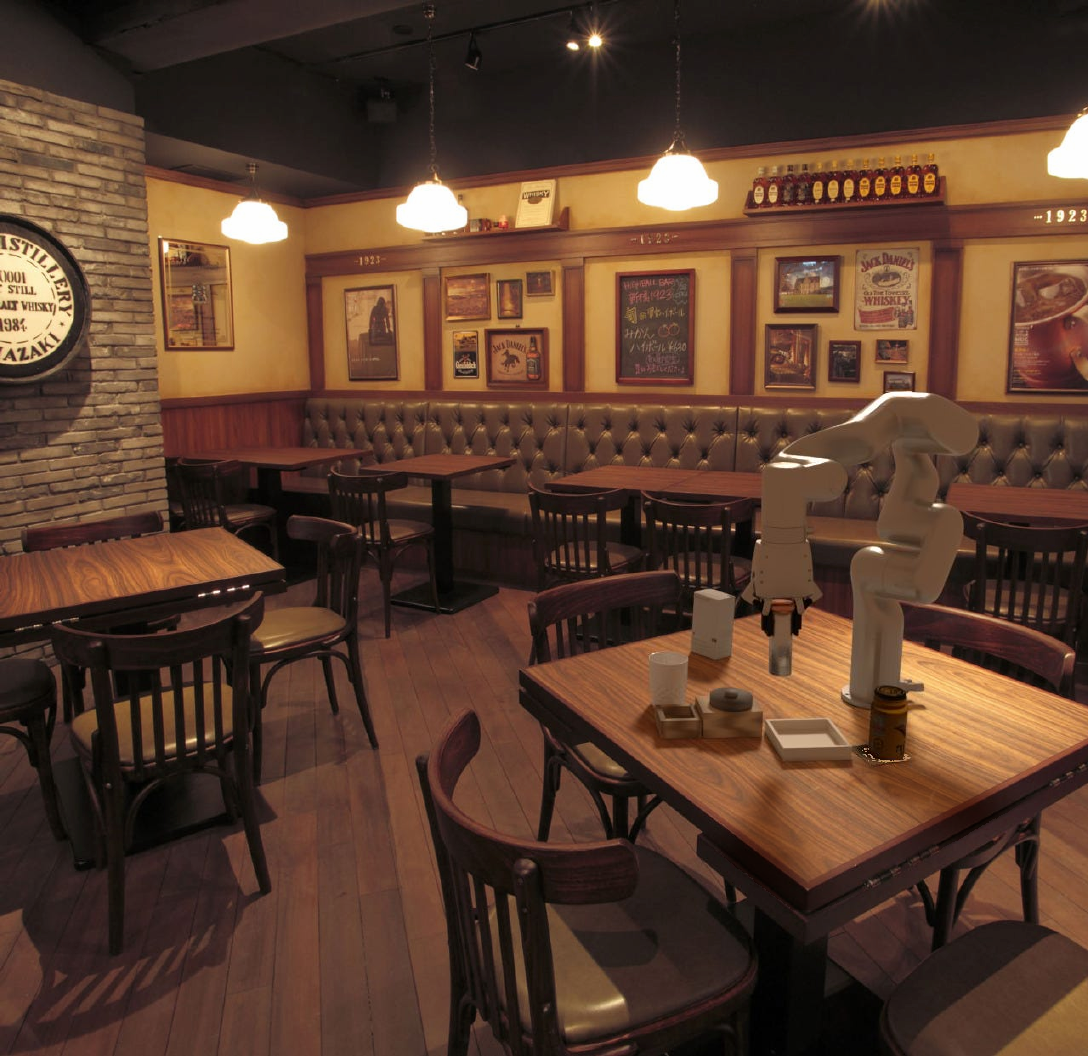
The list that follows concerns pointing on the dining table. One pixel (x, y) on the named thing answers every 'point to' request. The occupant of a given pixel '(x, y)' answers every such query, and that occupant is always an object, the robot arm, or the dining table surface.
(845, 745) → the tray
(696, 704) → the wooden condiment holder
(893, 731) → the condiment
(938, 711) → the dining table surface
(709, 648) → the skincare box
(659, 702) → the white cup
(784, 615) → the glass shaker
